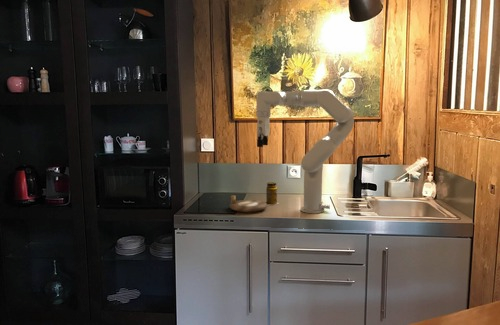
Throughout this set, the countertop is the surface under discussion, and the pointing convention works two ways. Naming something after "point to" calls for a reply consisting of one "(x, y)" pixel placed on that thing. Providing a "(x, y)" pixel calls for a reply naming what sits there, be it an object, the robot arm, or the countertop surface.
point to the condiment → (271, 194)
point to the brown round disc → (247, 204)
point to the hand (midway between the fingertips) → (262, 146)
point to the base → (247, 211)
